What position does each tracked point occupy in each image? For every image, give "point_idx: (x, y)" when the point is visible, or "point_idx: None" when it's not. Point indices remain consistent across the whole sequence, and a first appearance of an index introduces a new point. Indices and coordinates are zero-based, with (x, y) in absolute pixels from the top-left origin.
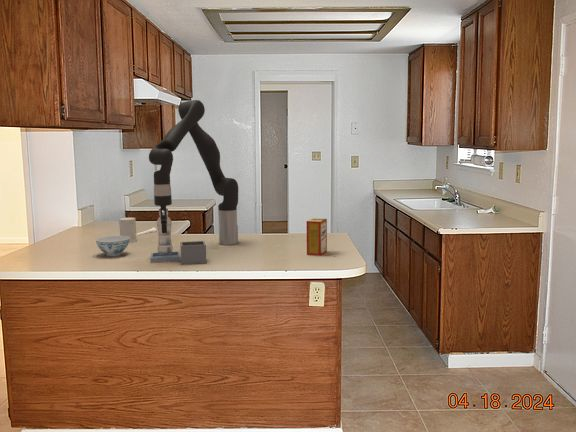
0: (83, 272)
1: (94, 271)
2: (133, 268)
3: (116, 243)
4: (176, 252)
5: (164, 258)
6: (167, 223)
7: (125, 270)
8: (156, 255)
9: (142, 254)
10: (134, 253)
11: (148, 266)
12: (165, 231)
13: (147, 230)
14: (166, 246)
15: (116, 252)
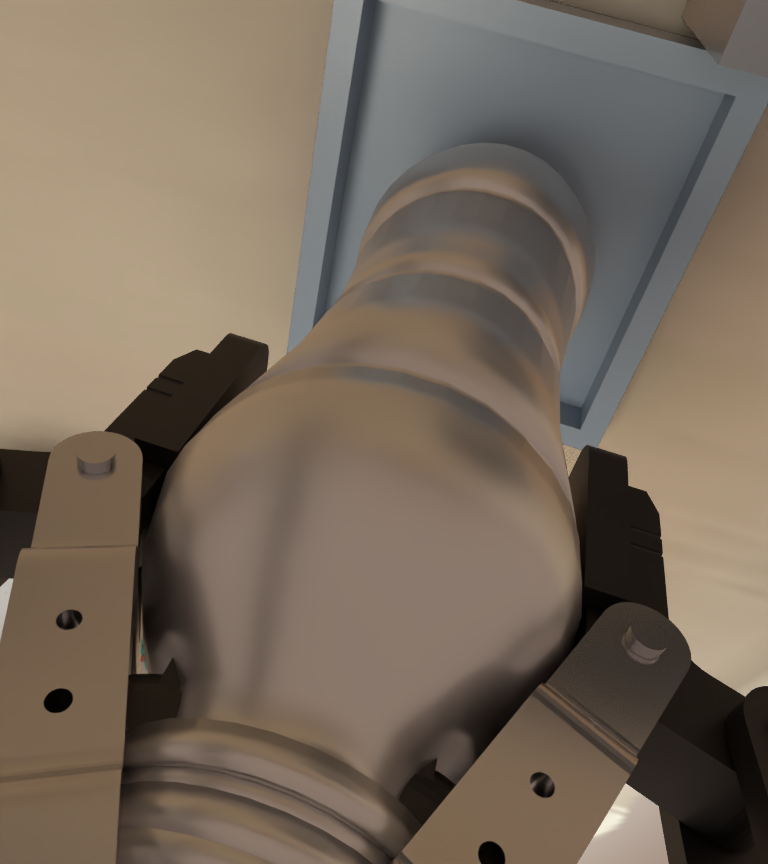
0: (604, 827)
1: (622, 791)
2: (737, 611)
3: (146, 667)
4: (364, 14)
5: (665, 301)
6: (581, 586)
7: (765, 674)
8: (326, 293)
9: (127, 362)
10: (63, 407)
11: (761, 493)
12: (644, 511)
13: None
14: (580, 309)
15: None
